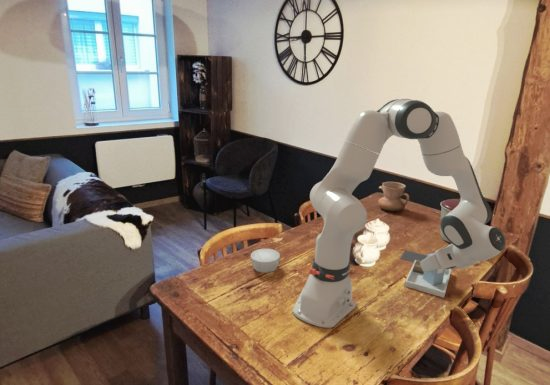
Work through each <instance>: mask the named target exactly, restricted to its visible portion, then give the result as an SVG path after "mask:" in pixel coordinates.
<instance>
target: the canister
mask: <svg viewBox="0 0 550 385" xmlns="http://www.w3.org/2000/svg"><path fill="white" fill-rule="evenodd" d="M460 200H461V196H460V197H459V198H451V199H450V198H449V199H446V200H443V201H441V202H440V208H441V210H440V221H441V220H442V218H443V217H445V216H446V215H447V214H448V213H449V212H450V211H452V210H453V209H454V208H456V207H457V206H458V204H459V203H460ZM439 228H440V229H439V230H440V233H439V234H440V236H441V238H442V239H443V241H446V242H447V243H450V244H452V243H451V242H450V241H449V240H448V239H447V238H446V237H445V235H444V234H443V232H442V230H441V225H440V227H439Z"/></svg>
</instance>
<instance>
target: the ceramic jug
mask: <svg viewBox="0 0 550 385" xmlns="http://www.w3.org/2000/svg"><path fill="white" fill-rule="evenodd" d="M378 190H381V191H382V192H383V195H384V196H382V197H381V198H378V200H377V206H379V208H381V209H382V210H384V211H389V212H399V211H402V210H404V209H405V208H406V206H407V204H408V203H409V201H410V195H409V194H408V193H406V192H405V190H406V184H403V183H401V182H398V181H397V182H396V181H385V182H382V185H380V186H378ZM403 196H405V198H406V199H405V201H404V200H403V199H401V197H403Z"/></svg>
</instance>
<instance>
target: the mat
mask: <svg viewBox="0 0 550 385" xmlns="http://www.w3.org/2000/svg"><path fill="white" fill-rule="evenodd" d="M426 257H427V254H422V253H418V252H415V251H414V252H413V251H412V250H411V251H410V250H406V249H405V250H404V251H403V253H402V254H401V257H400V258H399V259H400V260H403V261H406V262H410V263H414V261H415V260H418V261H422V260H424V259H425V258H426Z"/></svg>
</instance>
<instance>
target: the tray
mask: <svg viewBox="0 0 550 385" xmlns="http://www.w3.org/2000/svg"><path fill="white" fill-rule="evenodd" d="M417 261H418V260H417ZM415 262H416V260H415V261H414V262H412V266H411V268H410V270H409V272H408V275H407V276H406V279H405V281H404V287H406V288H410V289H412V290H416V291H419V292H424V293H426V294H430V295H434V296H436V297H440V298H445V295H446V292H447V288H448V284H449V282H450V281H449V280H450V277H451V274H452V273H451V272H452V269H445V272H444V277H443V282H442V283H441V284H437V285H431V284H430V283H428V282H427V281H426V280H424V279H423V274H420V273H417V272H413V268H414V264H415Z"/></svg>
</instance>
